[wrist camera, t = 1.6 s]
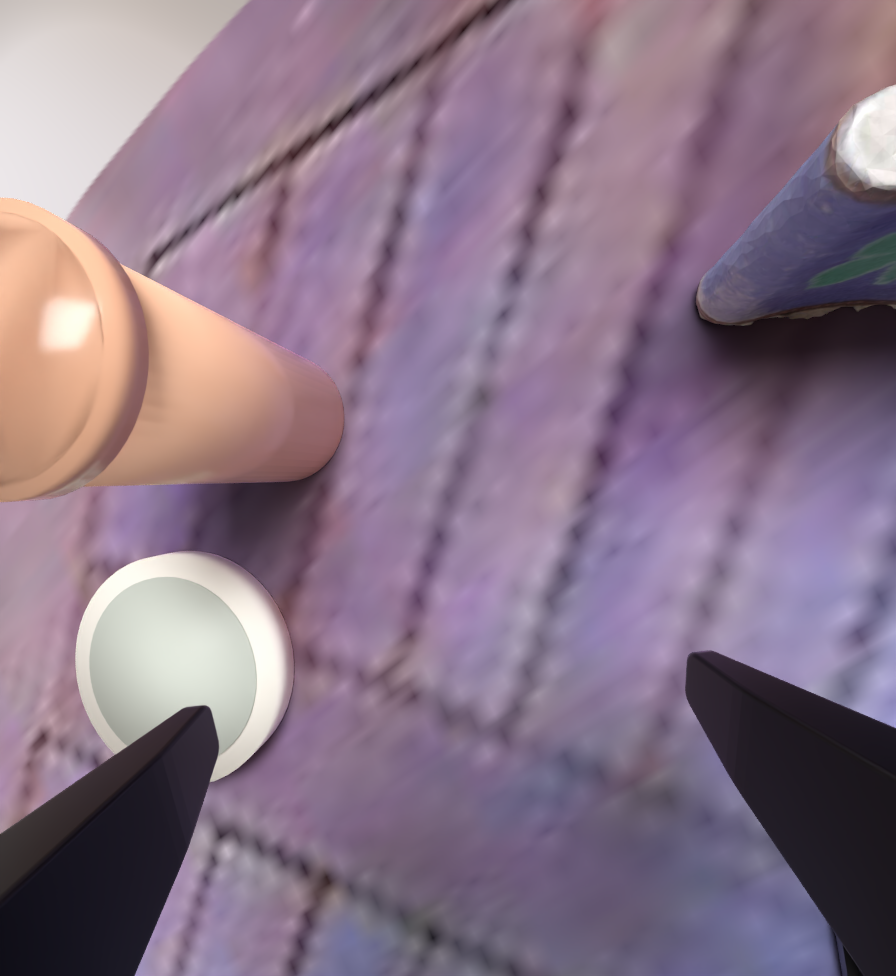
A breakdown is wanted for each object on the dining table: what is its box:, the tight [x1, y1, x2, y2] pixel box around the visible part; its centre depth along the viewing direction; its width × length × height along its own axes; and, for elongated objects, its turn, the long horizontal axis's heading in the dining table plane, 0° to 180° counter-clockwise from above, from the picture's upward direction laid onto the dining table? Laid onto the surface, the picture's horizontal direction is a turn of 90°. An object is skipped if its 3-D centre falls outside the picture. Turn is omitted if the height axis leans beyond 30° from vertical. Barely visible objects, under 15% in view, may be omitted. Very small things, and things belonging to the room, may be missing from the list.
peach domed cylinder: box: [0, 198, 344, 502], centre depth 16 cm, size 7×7×12 cm
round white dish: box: [76, 551, 294, 782], centre depth 22 cm, size 11×11×2 cm
